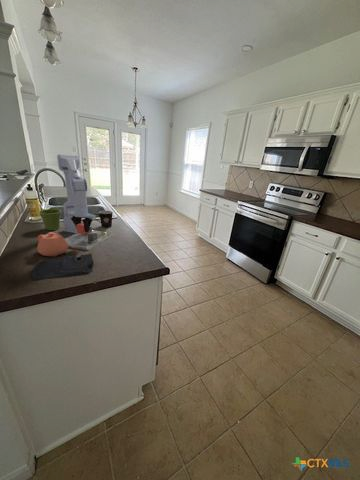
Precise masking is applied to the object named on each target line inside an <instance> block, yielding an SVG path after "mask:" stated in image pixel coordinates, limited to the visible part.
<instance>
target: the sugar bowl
mask: <svg viewBox="0 0 360 480" xmlns="http://www.w3.org/2000/svg"><path fill="white" fill-rule="evenodd" d="M37 240H38V241H37V242H38V243H37V252H38V253H39V254H40V255H42V256H45V257H57V256H59V255H62V254H64V253H65V252H67V250H68V249H69V247H68V244H67V242H66V240H65V237H64V236H63V235H61V234H60V233H55V232H54V231H50V232H47V233H46V234H39V235H37Z"/></svg>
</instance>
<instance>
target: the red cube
mask: <svg viewBox="0 0 360 480" xmlns="http://www.w3.org/2000/svg"><path fill="white" fill-rule="evenodd" d="M76 226H77V233H79V234H86V232H85V228H84V224H83V222H81V223H80V224H77V225H76ZM77 233H76V234H77ZM87 233H89V232H87Z"/></svg>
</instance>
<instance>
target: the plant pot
mask: <svg viewBox="0 0 360 480" xmlns="http://www.w3.org/2000/svg"><path fill="white" fill-rule="evenodd" d="M61 212H62V210H61V209H56V208H48V209H47V208H46V209H41V210H38V212H37V213H38V214H39V216H40V217H41V220H42V222H43V224H44V228H45V230H47V231H56V230H59V229H60V219H61V217H60V216H61Z"/></svg>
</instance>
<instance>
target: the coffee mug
mask: <svg viewBox="0 0 360 480" xmlns="http://www.w3.org/2000/svg"><path fill="white" fill-rule="evenodd" d="M93 215H96V216H98V218H99V219H100V220H98V219H97V218H96V219H94V221H97V222H98V223H100V224H101V227H102V228H103V229H109V228H111V227H112V225H113V211H112V210H100V211H99V212H98V213H94V214H93Z"/></svg>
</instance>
